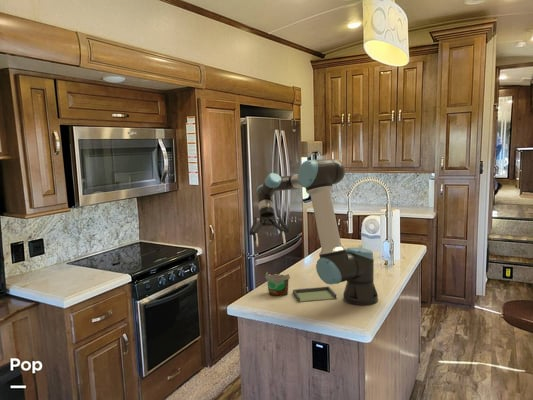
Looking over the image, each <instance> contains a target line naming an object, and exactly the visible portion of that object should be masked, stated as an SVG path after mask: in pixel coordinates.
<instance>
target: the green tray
mask: <svg viewBox="0 0 533 400" xmlns="http://www.w3.org/2000/svg"><path fill="white" fill-rule="evenodd" d="M292 295H293V297H294V299H295V300H296V302H297V303H307V302H316V301H317V302H319V301H320V302H321V301H331V300H337V299H338V298H337V294H336V293H335V291H334V290H333V289H332V288H331V287H330V286H321V287H320V286H319V287H310V288H309V287H308V288H299V289H297V288H296V289H292Z"/></svg>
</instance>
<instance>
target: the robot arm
mask: <svg viewBox="0 0 533 400" xmlns="http://www.w3.org/2000/svg"><path fill="white" fill-rule="evenodd" d="M345 174H346V169H345V166H344V164H343V163H342V162H341V161H339V160H338V159H335V158H334V159H333V158H325V159H324V158H323V159H319V158H318V159H309V160H305V161H304V162H301V164H300V166H299V168H298V170H297V173H296V174H291V175H282V176H280V175H279V174H278V173H275V172H271V173H268V175H267V177H266V178H264V182H263V183H262V184H259V186H257V188H256V196H257V205H258V211H259V217H256V216H254V219H253V220H254V221H253V223H252V225H251V227H250V229H249V232H248V233H249V234H248V235H250V236H252V239H253V241H255V245H256V248H258V247H259V237H258V233H259V231H260V230H261V229H262V228H264V227H268V226H269V227H274V228H276V229H277V230H278V231H279V232H281V235H282V236H281V237H282V242H283V246H286V243H287V241H286V239H287V236H288V235H287V233H288V234H289V232H290V227H288V225H287V224H286V223H285V222H284V220H283V219H282V217H281V215H278V216H275V212H274V205H273V198H272V197H273V196H274V194H275V193H276V192H280V191H290V190H299V189H301V188H305V192H306V194H307V195H309V196H310V199H311V204H312V209H313V213H314V218H315V223H316V228H317V234H318V238H319V243H320V247H321V250H320V252H319V253H318V254H319V255H318V256H319V258H318V260H317V261H316V264H315V270H316V273H317V275H318V277H319V278H320V280H321V281H322V282H323V283H325V284H327V285H337V284H338V285H339V284H340V283H343V282H346V284H345V287H344V290H343V295H342V297H343V301H344V302H346V303H347V304H351V305H356V306H369V305H373V304H375V303H377V302H378V301H379V296H378V295H379V294H378V291H377V288H376V286H375V283H374V282H375V281H374V279H375V277H374V269H375V267H374V263H375V262H374V254H373V253H374V252H373V251H372V250H371V249H368V248H362V247H347V248H345V247H344V246H342V241H341V238H340V236H341V235H340V233H339V227H338V223H337V219H336V214H335V210H334V208H335V207H334V204H333V199H332V195H331V190H332V189H333V185H336V184H339V183H340V182H342V181H343V179H344V177H345ZM259 222H260V223H259ZM258 223H259V225H257V224H258ZM256 226H257V227H256Z"/></svg>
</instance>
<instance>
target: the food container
mask: <svg viewBox="0 0 533 400" xmlns="http://www.w3.org/2000/svg"><path fill="white" fill-rule="evenodd" d="M265 279H266V282H267V290H268V295H270V296H271V297H275V298H276V297H277V298H278V297H285V296H288V294H289V280H290V279H291V277H290V274H289V273H287V274H280V273H269V272H268V271H266V273H265Z"/></svg>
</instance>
